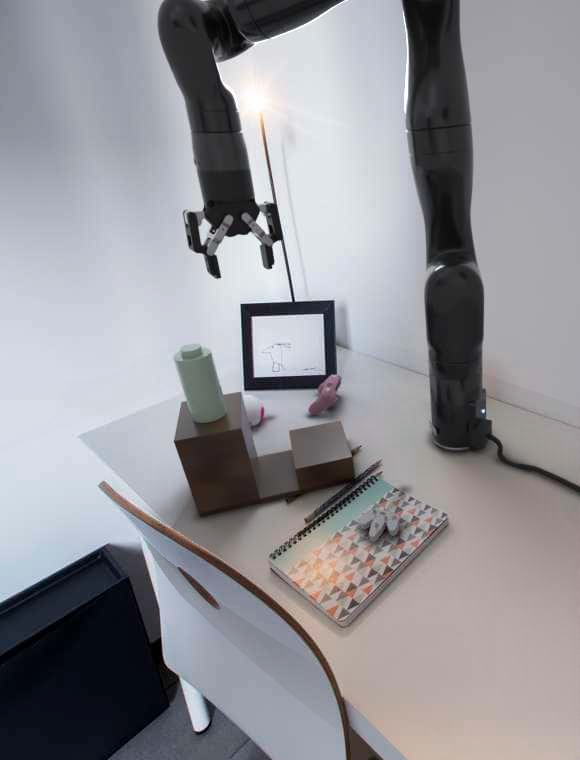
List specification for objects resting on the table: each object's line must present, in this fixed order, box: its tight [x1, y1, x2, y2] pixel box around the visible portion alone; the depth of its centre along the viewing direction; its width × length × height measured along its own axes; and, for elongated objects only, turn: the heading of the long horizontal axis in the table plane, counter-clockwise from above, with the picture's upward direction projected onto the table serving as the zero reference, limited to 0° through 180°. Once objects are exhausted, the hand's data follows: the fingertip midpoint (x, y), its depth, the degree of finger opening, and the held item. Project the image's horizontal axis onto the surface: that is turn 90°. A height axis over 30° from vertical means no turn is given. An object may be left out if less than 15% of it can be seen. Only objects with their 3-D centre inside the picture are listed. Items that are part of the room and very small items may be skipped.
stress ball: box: [242, 394, 270, 427], centre depth 104 cm, size 8×8×7 cm
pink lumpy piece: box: [308, 373, 343, 415], centre depth 109 cm, size 10×5×7 cm, turn 179°
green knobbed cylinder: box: [172, 343, 227, 423], centre depth 77 cm, size 5×5×11 cm
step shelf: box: [173, 391, 357, 518], centre depth 85 cm, size 24×12×14 cm, turn 109°
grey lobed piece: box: [359, 487, 405, 543], centre depth 79 cm, size 6×12×3 cm, turn 0°
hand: (243, 272), depth 87 cm, fingers open, 8 cm apart
